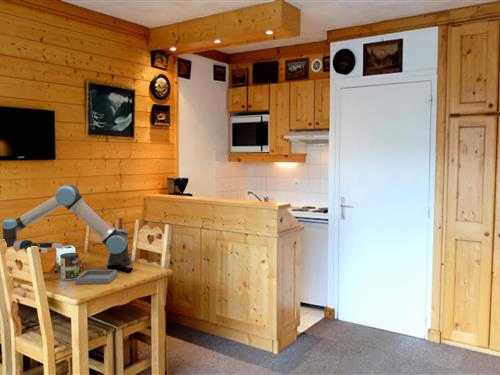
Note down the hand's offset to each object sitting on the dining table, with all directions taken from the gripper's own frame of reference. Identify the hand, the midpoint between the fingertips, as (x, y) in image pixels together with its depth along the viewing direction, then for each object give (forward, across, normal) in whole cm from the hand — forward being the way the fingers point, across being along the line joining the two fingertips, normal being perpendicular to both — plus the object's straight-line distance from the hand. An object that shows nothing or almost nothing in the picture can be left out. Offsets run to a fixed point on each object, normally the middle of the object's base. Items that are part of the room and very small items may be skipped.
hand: (54, 248), depth 270 cm
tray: (+28, -1, -17) cm, 32 cm away
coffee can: (+10, 0, -17) cm, 20 cm away
